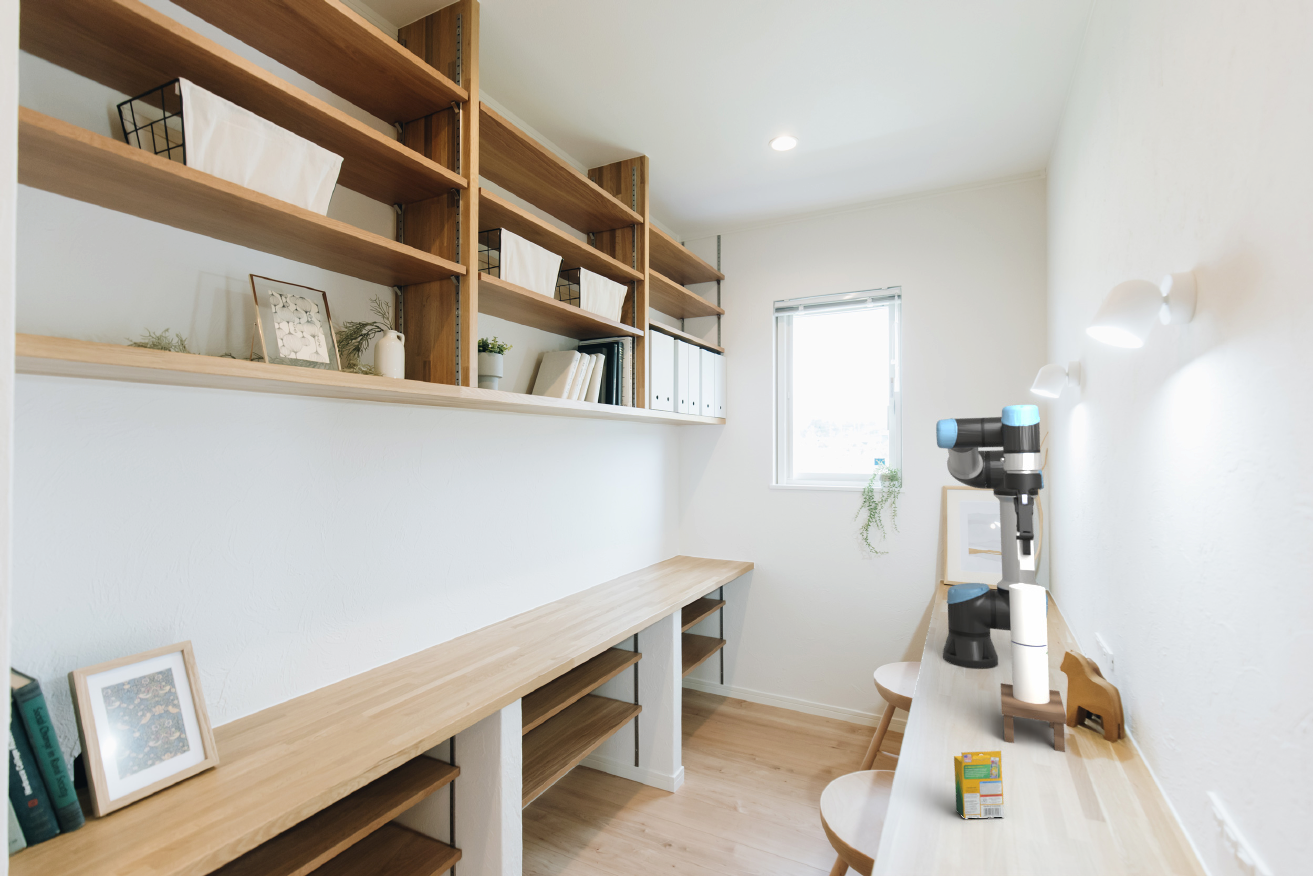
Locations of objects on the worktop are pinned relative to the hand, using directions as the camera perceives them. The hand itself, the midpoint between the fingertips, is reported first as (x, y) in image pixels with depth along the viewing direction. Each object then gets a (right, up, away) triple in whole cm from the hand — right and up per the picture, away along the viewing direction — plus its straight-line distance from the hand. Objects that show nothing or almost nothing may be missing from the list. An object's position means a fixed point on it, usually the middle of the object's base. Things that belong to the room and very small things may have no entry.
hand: (1025, 564), depth 143 cm
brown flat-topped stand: (+1, -38, -1) cm, 38 cm away
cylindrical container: (+1, -30, -1) cm, 30 cm away
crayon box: (-28, -38, -33) cm, 57 cm away
